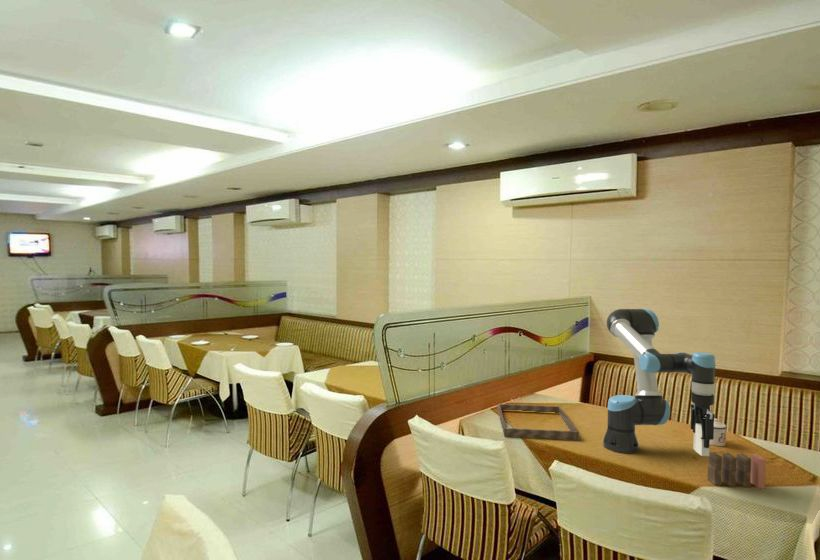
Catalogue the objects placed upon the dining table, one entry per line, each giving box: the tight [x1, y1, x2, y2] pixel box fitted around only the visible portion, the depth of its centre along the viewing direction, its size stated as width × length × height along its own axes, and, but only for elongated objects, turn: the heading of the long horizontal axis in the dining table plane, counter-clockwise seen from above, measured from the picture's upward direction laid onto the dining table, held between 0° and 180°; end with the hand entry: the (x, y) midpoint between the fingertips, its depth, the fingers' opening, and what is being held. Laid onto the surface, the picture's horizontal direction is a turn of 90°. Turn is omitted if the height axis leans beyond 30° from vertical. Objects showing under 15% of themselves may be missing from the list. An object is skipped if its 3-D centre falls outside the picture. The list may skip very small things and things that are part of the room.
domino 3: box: [721, 452, 737, 487], centre depth 182 cm, size 2×5×11 cm, turn 174°
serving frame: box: [497, 403, 579, 441], centre depth 249 cm, size 35×42×4 cm
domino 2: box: [707, 451, 722, 487], centre depth 182 cm, size 2×5×11 cm, turn 174°
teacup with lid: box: [710, 417, 727, 447], centre depth 226 cm, size 12×9×12 cm
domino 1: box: [694, 423, 703, 456], centre depth 183 cm, size 2×5×11 cm, turn 174°
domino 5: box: [750, 453, 767, 489], centre depth 181 cm, size 2×5×11 cm, turn 174°
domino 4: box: [736, 453, 751, 488], centre depth 181 cm, size 2×5×11 cm, turn 174°
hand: (701, 452), depth 183 cm, fingers closed on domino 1, 5 cm apart
